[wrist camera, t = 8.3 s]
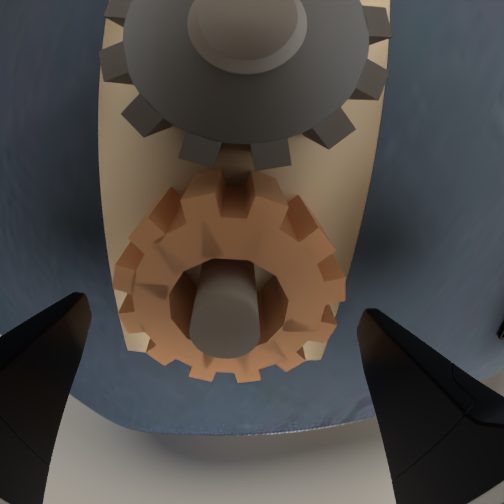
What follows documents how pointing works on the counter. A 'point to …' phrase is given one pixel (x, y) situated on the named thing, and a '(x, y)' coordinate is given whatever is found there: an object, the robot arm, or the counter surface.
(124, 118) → the gear board
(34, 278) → the counter surface
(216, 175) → the terracotta gear
